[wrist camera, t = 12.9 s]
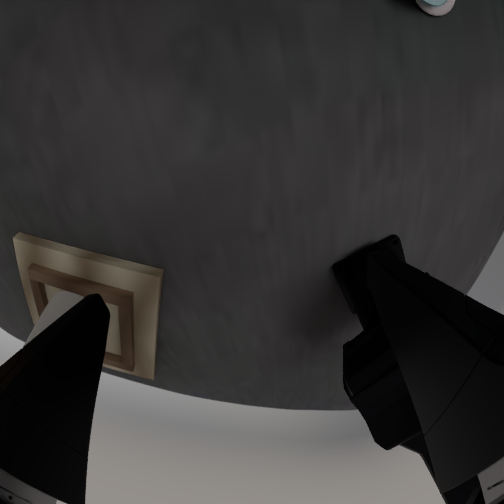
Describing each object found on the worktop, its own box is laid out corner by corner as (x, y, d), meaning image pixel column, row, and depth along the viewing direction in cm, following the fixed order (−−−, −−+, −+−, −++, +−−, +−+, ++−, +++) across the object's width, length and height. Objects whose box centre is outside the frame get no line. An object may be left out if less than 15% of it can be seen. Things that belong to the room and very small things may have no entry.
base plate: (163, 269, 24) (157, 284, 22) (155, 372, 32) (152, 386, 30) (19, 231, 22) (7, 243, 20) (44, 337, 30) (38, 349, 28)
